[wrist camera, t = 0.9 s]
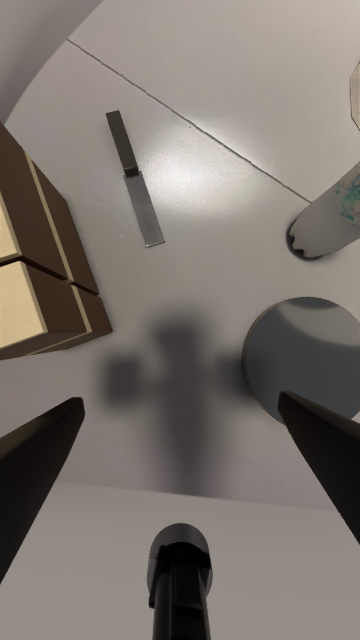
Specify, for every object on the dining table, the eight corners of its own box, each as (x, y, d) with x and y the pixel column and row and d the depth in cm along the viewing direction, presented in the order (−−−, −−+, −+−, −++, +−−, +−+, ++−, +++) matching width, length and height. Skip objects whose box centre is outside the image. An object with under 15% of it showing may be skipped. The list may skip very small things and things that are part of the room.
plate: (356, 437, 21) (367, 444, 20) (231, 412, 20) (235, 417, 19) (371, 312, 22) (383, 311, 21) (253, 287, 22) (258, 284, 20)
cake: (99, 293, 21) (16, 252, 10) (52, 310, 20) (-89, 287, 9) (65, 200, 21) (-48, 63, 10) (19, 215, 21) (-148, 89, 10)
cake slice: (113, 331, 21) (43, 332, 10) (65, 349, 20) (-64, 371, 9) (100, 297, 21) (19, 260, 10) (53, 314, 20) (-87, 295, 9)
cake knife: (164, 242, 22) (164, 238, 21) (146, 247, 21) (145, 243, 20) (123, 119, 22) (121, 109, 22) (106, 123, 22) (103, 113, 21)
